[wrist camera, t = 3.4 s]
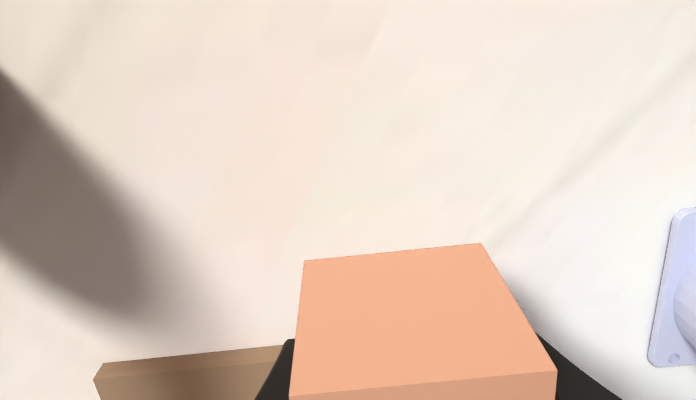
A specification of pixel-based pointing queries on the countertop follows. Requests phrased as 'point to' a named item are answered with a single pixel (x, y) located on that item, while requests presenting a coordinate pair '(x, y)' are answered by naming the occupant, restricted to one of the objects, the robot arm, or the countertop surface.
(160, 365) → the walnut base board
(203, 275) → the countertop surface
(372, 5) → the countertop surface
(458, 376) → the terracotta cube
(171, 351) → the countertop surface
